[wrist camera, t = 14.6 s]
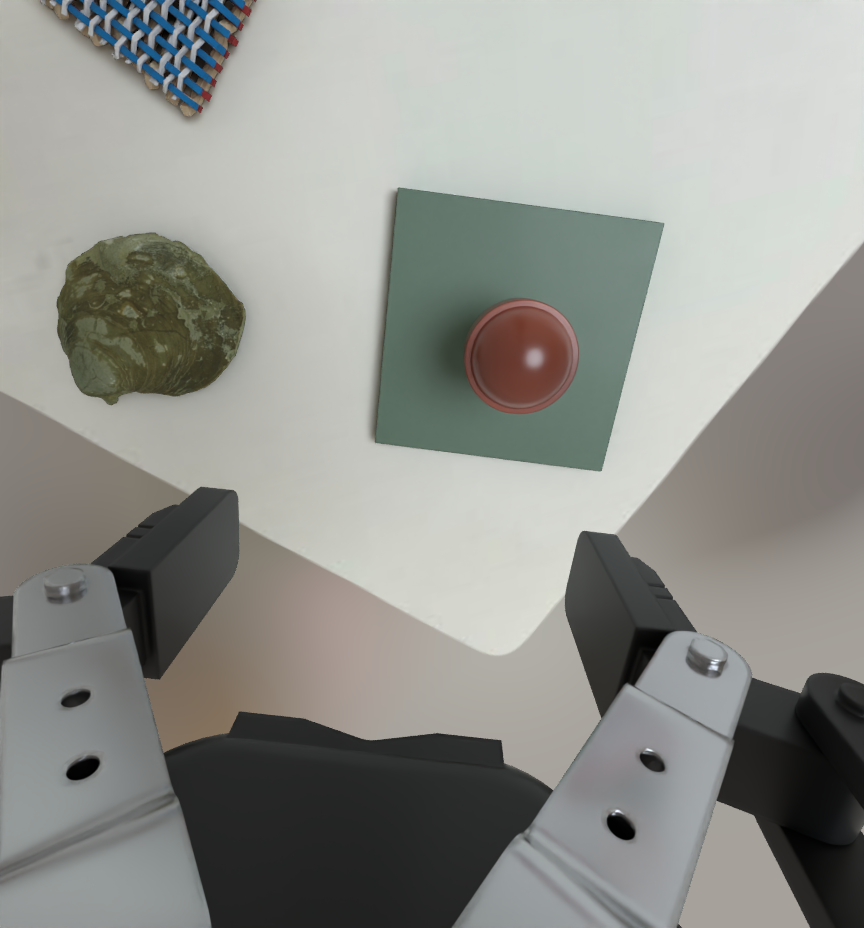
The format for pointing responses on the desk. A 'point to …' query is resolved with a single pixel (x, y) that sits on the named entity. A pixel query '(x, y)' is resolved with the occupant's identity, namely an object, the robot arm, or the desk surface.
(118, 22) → the woven mat
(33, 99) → the desk surface
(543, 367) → the wooden mushroom
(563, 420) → the sage board
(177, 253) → the seashell
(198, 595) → the robot arm
